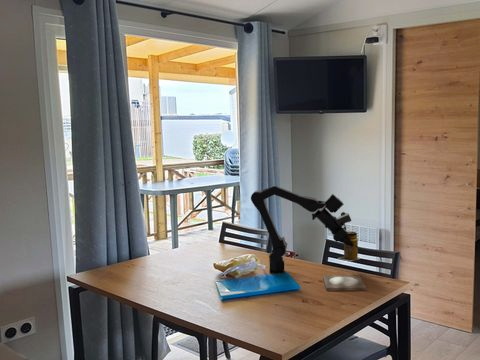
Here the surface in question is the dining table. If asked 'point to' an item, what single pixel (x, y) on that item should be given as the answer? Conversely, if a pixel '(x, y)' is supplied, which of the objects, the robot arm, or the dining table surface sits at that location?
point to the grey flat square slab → (343, 283)
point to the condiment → (351, 248)
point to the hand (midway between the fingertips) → (352, 244)
